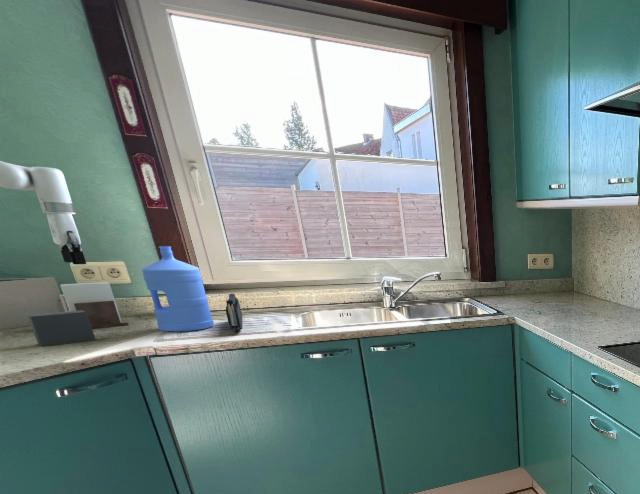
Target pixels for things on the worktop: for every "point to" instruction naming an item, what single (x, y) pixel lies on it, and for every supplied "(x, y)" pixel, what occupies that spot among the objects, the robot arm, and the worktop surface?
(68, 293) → the white book
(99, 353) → the worktop surface
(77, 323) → the dark grey rectangular block
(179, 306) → the water jug
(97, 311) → the book rack
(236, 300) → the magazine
